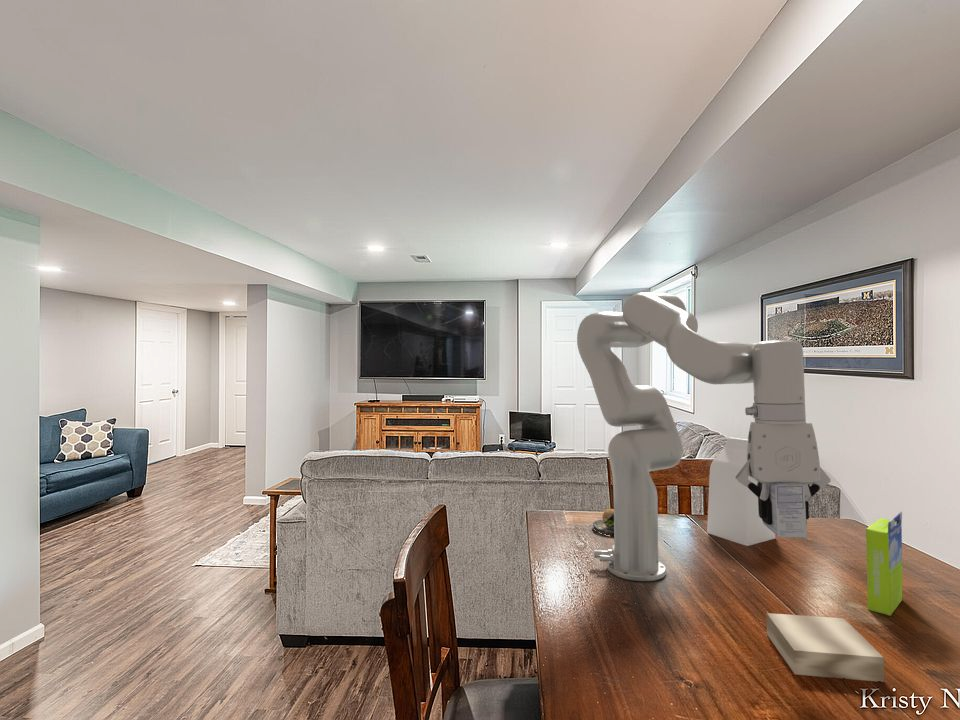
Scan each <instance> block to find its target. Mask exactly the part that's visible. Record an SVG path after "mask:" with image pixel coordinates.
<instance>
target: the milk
mask: <svg viewBox="0 0 960 720" xmlns="http://www.w3.org/2000/svg"><path fill="white" fill-rule="evenodd" d="M747 445H748V438H738V437H731V436H730V437H727V439H726V442H725V444H724V446H723V448H722V449H721V451H720V452H719V453H718V454H717V455H716V457H715V458H714V459H713V460H712V461H711V462H710V465H709V483H708V499H707V501H708V505H707V527H706V530H707V531H706V533H707V534H709V535H711V536H715V537H719V538H722V539H724V540H728V541H730V542H734V543H737V544H740V545H742V546H746V547H749V546H752V545H756V544H759V543H763V542H767V541H771V540H774V539H775V540H776V534H775V533H774V532H772V531H771V530H770V529H769V528H768V527H767V526H765V525H764V524H763V521H762V518H760V517H759V510H758V497H757V496H756V495H755V494H754V493H753V492H752V491H751V490H750V489H749V488H747V487H746V486H744V485H743V484H741V483H740V482H739V481H737V480H736V476H737V474H738V473H739V472H740V470H741V469H742V468H743V466H744V465H745V464H746V462H747ZM748 479H749V480H750V481H751V482H753V483H754V484H756V485H757V482H758V481H757V480H756V479H754V478H753V477H750V476H748Z"/></svg>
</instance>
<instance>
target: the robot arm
mask: <svg viewBox="0 0 960 720" xmlns="http://www.w3.org/2000/svg"><path fill="white" fill-rule="evenodd" d="M698 324H699V322H698V320H697V318H696V316H695V315H694V314H693V313H691V312H690V311H687V308H686V305H685V303H684V302H683V300H682V299H680V297H678V296H676V295H674V294H671V293H659V292H657V293H656V292H638V293H634V294H633V295H630V296H629V297H628V298H627V299H626V300H625V301H624V303H623V304H622V307H621V312H618V311H598V312H593V313H590V314H589V315H587V316H585V317H583V319H582V320H581V322H580V323H579V325H578V329H577V337H576V343H577V344H576V345H577V349H578V353H579V356H580V358H581V360H582V363H583V365H584V367H585V368H586V371H587V373H588V375H589V377H590V379H591V383H592V387H593V390H594V392H595V396H596V399H597V402H598V405H599V408H600V411H601V414H602V416H603V419H604V420H605V422H606V424H608V425H609V426H611V427H616V428H618V427H619V428H620V427H621V428H624V427H635V426H638V427H639V426H640V428H638V429H628V430H624V431H620V432H618V433H617V434H615V435H614V436H613V437H612V438H611V439H610V442H609V443H608V448H607V449H608V450H607V451H608V459H609V463H610V470H611V474H612V475H611V476H612V487H613V509H614V534H613V536H614V538H613V539H614V540H613V541H614V543H613V545H612V548H608V549H607V550H605V549H603V550H602V549H593V559H599V561H600V562H603V563H604V562H607V570H608V571H609V573H611V574H612V575H614V576H616V577H618V578H621V579H624V580H627V581H635V582H654V581H657V580H661V579H662V578H664V577H665V576H666V574H667V568H666V566H665V565H664V564H663V563H662V562H661V561H660V560H659V524H658V523H659V516H658V515H659V507H658V505H659V504H658V503H659V502H658V500H659V499H658V491H657V487H656V484H655V483H654V480H653V479H652V477H651V475H650V472H654V471H660V470H666V469H671V468H674V467H675V466H677V465H678V464H679V463H680V461H681V460H682V457H683V454H684V453H683V451H684V450H683V444H682V440H681V436H680V433H679V431H678V428H677V426H676V423H675V420H674V418H673V415H672V411H671V410H670V406H669V405H668V402H667V400H666V398H665V396H664V394H662V393H661V392H660V390H659V389H657V388H656V387H654V386H651V385H645V384H643V385H641V384H640V385H638V384H637V385H634V384H633V382H632V381H631V380H630V377H629V374H628V370H627V369H626V367H625V365H624V363H623V361H622V360H621V359H620V358H619V357H618V356H617V355H616V354H615V353H614V352H613V351H612V349H611V348H640V347H643V346H646V345H648V344H651V343H652V342H655V343H657V344H658V345H660V346H662V347H663V348H664V349H665V350H666V353H667V355H668V357H669V359H670V360H671V362H672V363H673V364H674V365H675V366H676V367H677V368H679V369H680V370H682V371H683V372H685V373H687V374H688V375H689V376H692V377H693V378H694V379H696V380H699V381H700V382H704V383H707V384H710V385H731V384H732V385H733V384H735V385H738V384H739V385H741V384H753V402H752V406H748V407H745V409H744V410H745V415H746V416H750V417H753V419H754V420H753V421H750V425H749V430H748V437H747V439H748V445H747V462H746V464H745V465H744V466H743V468H742V469H741V470H740V472H739V473H738V474H737V476H736V480H737V481H739V482H740V483H741V484H743V485H744V486H746V487H747V488H749V489H750V490H751V491H752V492H753V493H754V494H755V495H756V496H757V497H758V510H759V517H760V518H762V521H764V522H765V523H766V524H767V525H771V524H772V503H771V501H770V500H769V496H768V495H769V491H770V486H771V484H773V483H801V484H803V485H804V490H805V508H806V526H807V525H808V522H807V520H809V519H810V508H809V502H811V501H812V498H813V497H814V496H815V495H816V494H817V493H818V492H819V491H820V489H822V488H824V487H826V486H827V485H829V484H830V483H831V478H830V477H829V476H828V475H827V474H826V472H825V471H824V470H823V469H822V468H821V465H820V456H819V450H818V449H819V448H818V444H817V443H818V442H817V438H816V434H815V430H814V429H815V428H814V427H813V426H814V425H813V423H812V422H811V421H807V420H806V417H807V415H806V398H805V397H806V396H805V395H806V392H805V368H804V367H805V366H804V365H805V364H804V350H803V346H802V344H801V343H800V342H799V341H796V340H791V339H789V340H786V339H784V340H783V339H782V340H765V341H759V342H745V341H744V342H738V341H737V342H736V341H735V342H734V341H714V340H711V339H709V338H707V337H705V336H703V335H701V334H699V333H698V330H699V329H698V328H699V325H698ZM748 476H750V477H753V478H754V479H756V480H757V481H758V482H757V485H756V484H754V483H753V482H751V481H750V480H749V479H748Z"/></svg>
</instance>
